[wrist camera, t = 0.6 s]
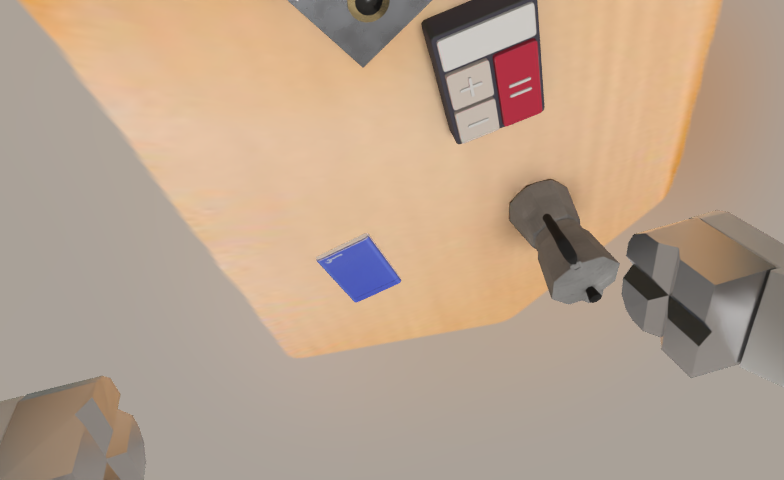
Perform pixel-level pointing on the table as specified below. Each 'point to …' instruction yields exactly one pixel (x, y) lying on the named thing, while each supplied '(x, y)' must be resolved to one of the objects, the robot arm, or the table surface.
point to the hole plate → (360, 22)
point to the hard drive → (359, 268)
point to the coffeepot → (562, 243)
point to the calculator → (486, 64)
